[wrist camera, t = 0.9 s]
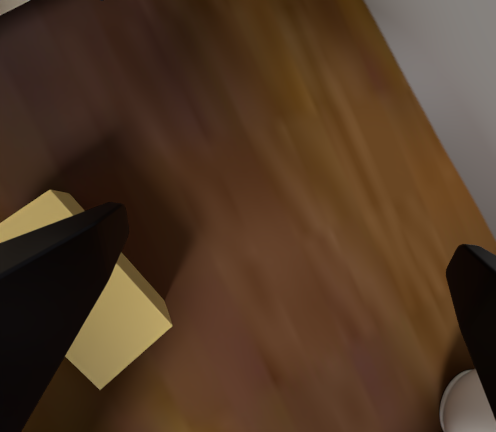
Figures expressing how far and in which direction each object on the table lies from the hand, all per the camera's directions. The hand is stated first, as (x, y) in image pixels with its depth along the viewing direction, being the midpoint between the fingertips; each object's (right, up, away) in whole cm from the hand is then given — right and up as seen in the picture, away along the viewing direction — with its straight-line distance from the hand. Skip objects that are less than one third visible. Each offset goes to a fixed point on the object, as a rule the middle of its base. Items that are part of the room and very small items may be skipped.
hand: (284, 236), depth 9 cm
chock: (-10, -3, +9) cm, 14 cm away
